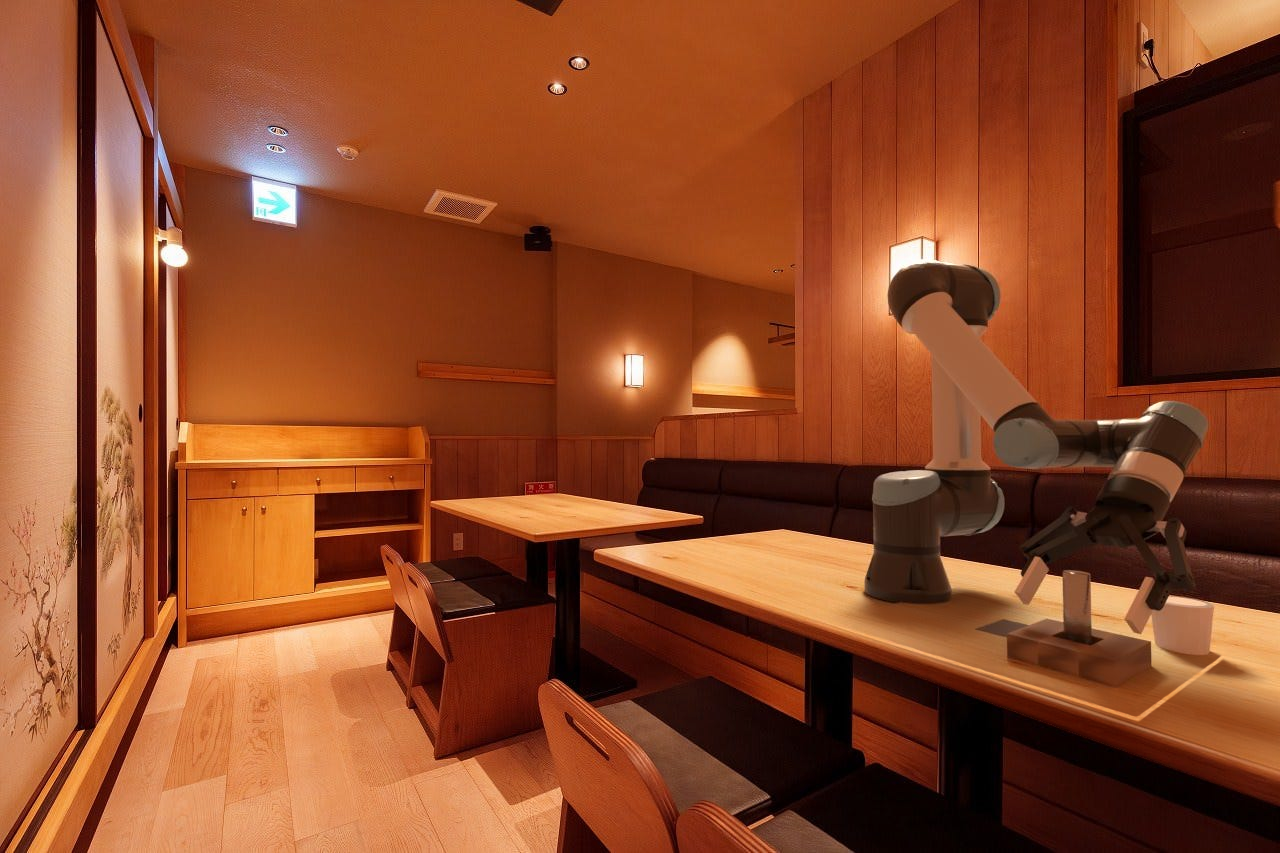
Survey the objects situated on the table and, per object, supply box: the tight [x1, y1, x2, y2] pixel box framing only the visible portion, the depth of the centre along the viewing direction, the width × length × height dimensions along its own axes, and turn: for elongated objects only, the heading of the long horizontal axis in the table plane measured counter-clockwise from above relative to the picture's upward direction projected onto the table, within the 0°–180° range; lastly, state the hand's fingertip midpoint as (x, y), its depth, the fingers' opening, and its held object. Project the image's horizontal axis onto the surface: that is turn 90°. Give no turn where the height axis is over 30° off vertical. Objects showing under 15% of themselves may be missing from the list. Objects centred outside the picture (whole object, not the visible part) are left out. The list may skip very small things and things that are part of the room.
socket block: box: [1006, 618, 1153, 688], centre depth 79 cm, size 12×12×4 cm
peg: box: [1061, 569, 1093, 646], centre depth 79 cm, size 3×3×12 cm
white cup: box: [1150, 594, 1215, 656], centre depth 84 cm, size 7×7×7 cm
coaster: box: [975, 618, 1029, 638], centre depth 91 cm, size 9×9×1 cm
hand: (1072, 611), depth 78 cm, fingers open, 13 cm apart
